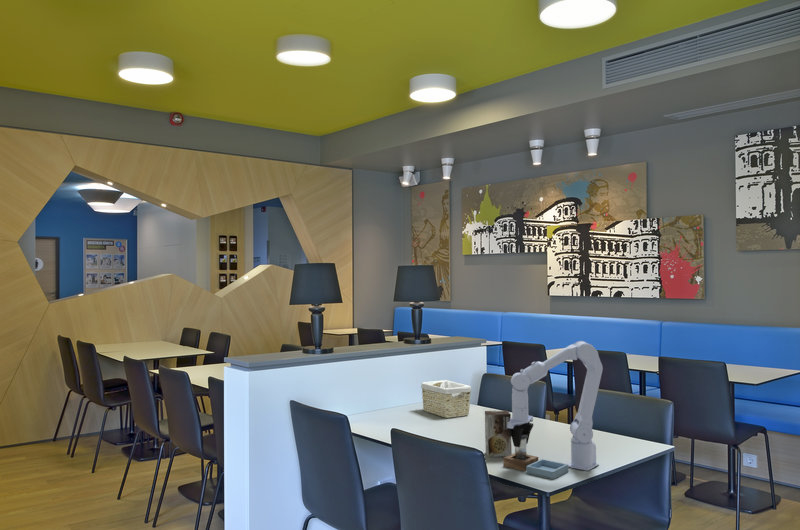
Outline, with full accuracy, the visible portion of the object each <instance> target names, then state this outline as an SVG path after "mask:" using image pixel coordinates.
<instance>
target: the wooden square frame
mask: <svg viewBox="0 0 800 530" xmlns="http://www.w3.org/2000/svg"><path fill="white" fill-rule="evenodd" d="M502 459H503V460H502V462H503V463H502V464H503V465H502V466H503V467H505V468H508V469H509V468H510V469H514V470H518V471H521V472H522V471H524V472H526V466H528V465H530V464H532V463H535V462H537V461H539V456H537V455H536V456H535V455H530V454H527V459H526V460H519V459H515V452H513V453H512V454H511V455H509V456H503V458H502Z"/></svg>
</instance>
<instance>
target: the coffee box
mask: <svg viewBox="0 0 800 530" xmlns="http://www.w3.org/2000/svg"><path fill="white" fill-rule="evenodd" d="M511 414H512V413H510V412H509V410H484V435H485V436H484V438H485V454H486V455H487V457H488V458H498V457H507V456H509V455H511V454H513V452H512V437H511V434H510V432H509V430H508V429H507V422H509V421H510V418H512V415H511Z"/></svg>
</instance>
